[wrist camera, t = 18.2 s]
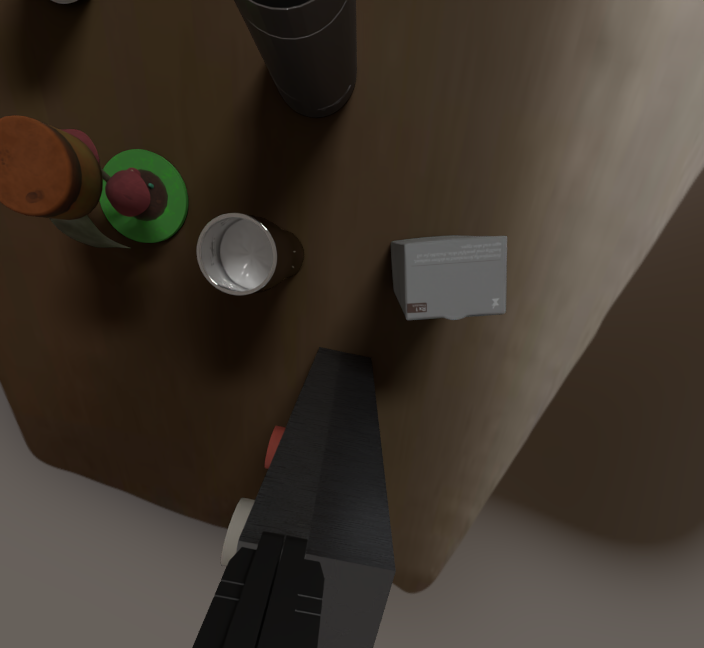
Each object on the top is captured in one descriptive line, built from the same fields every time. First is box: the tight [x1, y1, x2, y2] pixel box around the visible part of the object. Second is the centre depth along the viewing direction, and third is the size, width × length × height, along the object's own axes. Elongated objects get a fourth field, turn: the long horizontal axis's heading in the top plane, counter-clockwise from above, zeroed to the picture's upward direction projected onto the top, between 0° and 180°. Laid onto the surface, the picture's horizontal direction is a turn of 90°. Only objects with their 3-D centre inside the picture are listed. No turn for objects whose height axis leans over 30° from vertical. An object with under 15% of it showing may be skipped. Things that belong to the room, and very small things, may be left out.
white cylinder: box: [221, 498, 255, 566], centre depth 25 cm, size 5×4×4 cm
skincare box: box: [391, 236, 507, 320], centre depth 33 cm, size 8×7×16 cm
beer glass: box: [197, 213, 304, 295], centre depth 34 cm, size 7×7×15 cm
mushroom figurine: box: [0, 115, 188, 248], centre depth 33 cm, size 12×13×15 cm
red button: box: [265, 426, 286, 469], centre depth 36 cm, size 5×4×4 cm
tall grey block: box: [236, 347, 395, 648], centre depth 31 cm, size 7×18×30 cm, turn 168°
